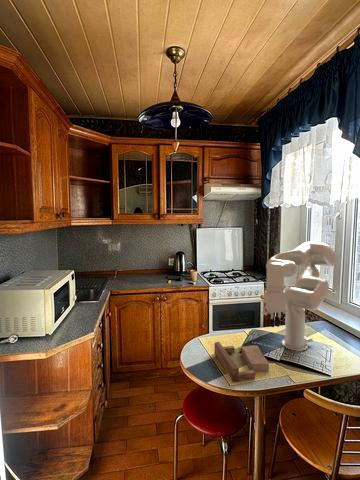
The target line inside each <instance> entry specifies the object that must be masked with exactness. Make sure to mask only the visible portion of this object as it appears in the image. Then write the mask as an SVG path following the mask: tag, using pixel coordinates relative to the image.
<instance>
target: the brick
mask: <svg viewBox="0 0 360 480" xmlns="http://www.w3.org/2000/svg"><path fill="white" fill-rule="evenodd" d="M241 356H242V357H243V360H244V362H245V363H246V364H247V366H248V368H249V370H254V372H255V374H257V373H269V372H270V371H269V370H270V363H269V362H268V359H267V358H266V357H265V356H264V354H263V353H262V351H261V350H260V348H259V346H258V345H245V346H241Z"/></svg>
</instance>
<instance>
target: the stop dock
mask: <svg viewBox="0 0 360 480" xmlns="http://www.w3.org/2000/svg"><path fill="white" fill-rule="evenodd" d="M231 354H235V347H234V345H230V346H223V345H222V343H221V342H220V341H217V342H214V355H215V356H216V358H217V359H218V361H219V363H220V364H221V366H222V367H223V369H224V370H225V372H226V374H227V375H228V377H229V378H230V380H231V381H232V383H239V382H245V381H246V382H247V381H251V380H255V379H256V373H255V372H254V370H250V369H249V370H244V371H243V370H242V371H240V368H239V366H238V365H237V364H236V363H235V361H234V360H233V358H232V357H231Z"/></svg>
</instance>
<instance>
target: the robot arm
mask: <svg viewBox="0 0 360 480" xmlns="http://www.w3.org/2000/svg"><path fill="white" fill-rule="evenodd" d="M337 263H338V255H337V253H336V252H335V250H334V249H333V248H332V247H331V246H329V245H328V244H327V243H324V242H315V241H306V242H303V243H302V244H300V245H298V246H297V247H295V248H294V249H293V250H288V251H284V252H280V253H278V254H275V255H273V256H271V257H270V258H269V259H268V260H267V262H266V265H265V267H266V290H264V293H263V297H262V313H261V314H262V315H263V316H267V317H268V323H269V324H268V325H269V326H271V328H274V327H275V326H276V327H277V328H280V322H281V321H280V320H281V318H282V316H283V315H284V314H285V323H284V324H285V325H284V326H285V327H284V329H285V330H284V332H285V333H284V339H283V340H282V341H281V345H282V347H284V346H285V347H286V348H285V347H284V348H285V349H287V348H288V349H287V350H289V349H291V350H290V351H292V350H296V351H295V352H304V351H303V350H305V351H306V349H307V350H308V343H311V342H313V341H314V340H313V338H312V337H309V338H308V336H306V335H305V333H306V313H305V311H304V309H305V310H308V311H316V310H318V309H319V308H320V306H321V305H322V303H323V302H324V300H325V298H326V297H327V294H328V292H329V289H330V287H329V286H330V285H329V282H328V281H327V280H326V279H325V278H323V277H320V276H321V274H320V271H319V268H318V267H317V266H322V267H334V266H335V265H336V264H337ZM302 265H303V271H302V272H301V274H300V275H299V277H298V278H297V279H296V281H295V287H293V286H290V287H286V285H284V282H285V281H284V280H285V278H288V277H293V276H294V275H296V273H297V271H298V266H302ZM284 290H285V291H284ZM274 313H275V316H274Z"/></svg>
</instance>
